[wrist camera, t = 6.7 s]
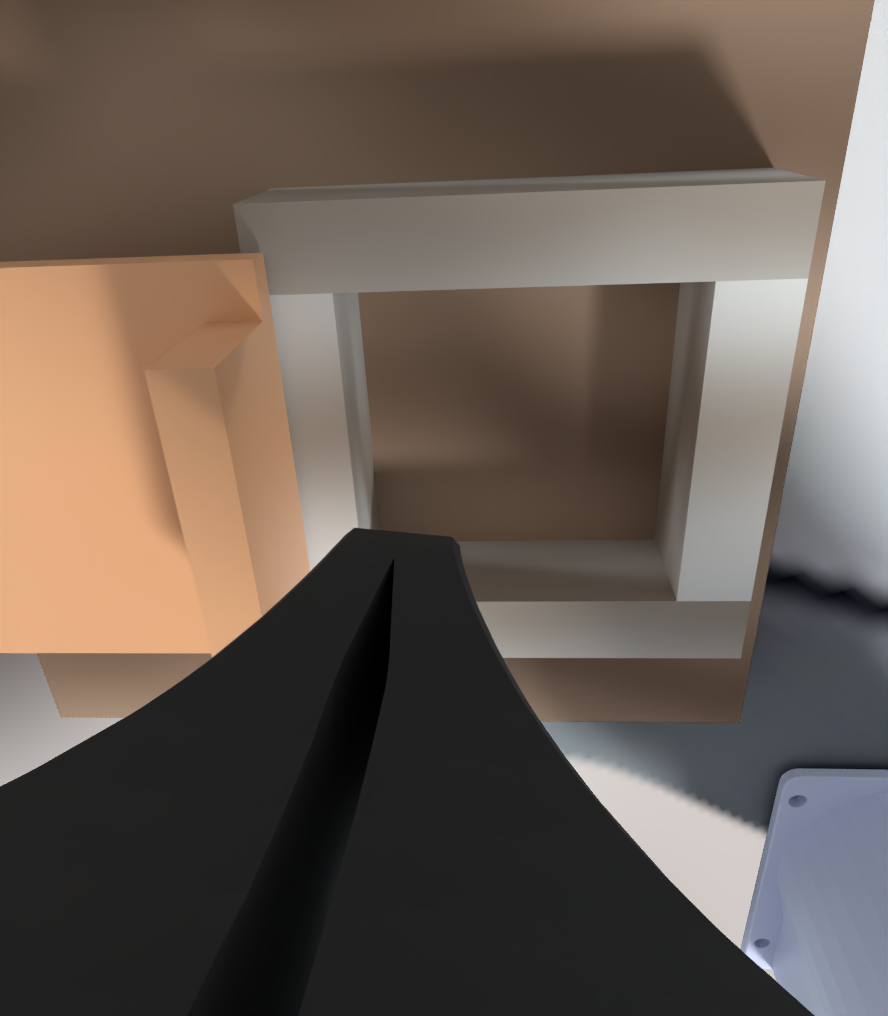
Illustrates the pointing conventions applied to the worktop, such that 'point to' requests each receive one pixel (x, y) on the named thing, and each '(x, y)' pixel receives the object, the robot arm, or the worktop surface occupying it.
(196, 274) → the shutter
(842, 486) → the worktop surface
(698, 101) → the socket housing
